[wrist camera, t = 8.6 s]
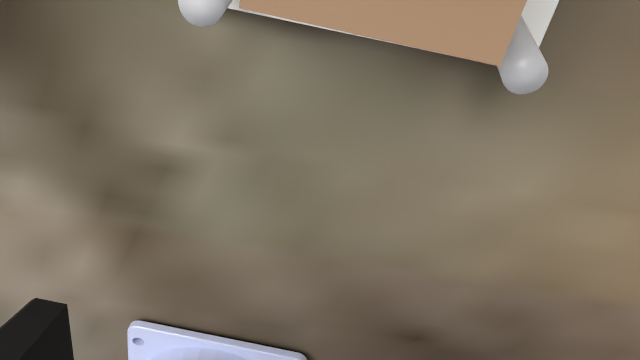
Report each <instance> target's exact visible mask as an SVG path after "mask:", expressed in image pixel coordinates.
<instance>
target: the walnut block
mask: <svg viewBox="0 0 640 360" xmlns="http://www.w3.org/2000/svg"><path fill="white" fill-rule="evenodd" d="M526 2H527V0H240V3H239V8H240V9H245V10H249V11H254V12H258V13H262V14H267V15H271V16H276V17H280V18H285V19H289V20H294V21H298V22H303V23H307V24H312V25H316V26H321V27H325V28H330V29H334V30H339V31H343V32H348V33H352V34H357V35H361V36H366V37H370V38H375V39H379V40H384V41H388V42H392V43H397V44H401V45H406V46H410V47H415V48H419V49H424V50H428V51H433V52H437V53H442V54H446V55H451V56H455V57H460V58H464V59H469V60H473V61H478V62H482V63H487V64H491V65H496V66H501V63H502V61H503V58H504V56H505V53H506V51H507V48H508V46H509V44H510V41H511V39H512V36H513V34H514V31H515V29H516V26H517V24H518V21H519V19H520V16H521V14H522V12H523V9H524V7H525V4H526Z"/></svg>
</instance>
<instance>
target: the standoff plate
mask: <svg viewBox="0 0 640 360" xmlns="http://www.w3.org/2000/svg"><path fill="white" fill-rule="evenodd" d="M558 2H559V0H527V2H526V4H525V7H524V9H523V12H522V14H521V16H520V19H519V21H518V24H517V26H516V29H515V31H514V34H513V36H512V39H511V41H510V44H509V46H508V48H507V51H506V53H505V56H504V58H503V61H502V63H501V66H497V67H498V70H499V73H500V76H501V79H502V82H503V84H504V86H505V87H506V88H507V89H508V90H509V91H510V92H512V93H515V94H529V93H532V92H534V91H536V90H537V89H539V88H540V87H541V86H542V85H543V84H544V83H545V81H546V79H547V77H548V65H547V63H546V61H545V59H544V57H543V55H542V53H541V51H540V49H539V46H540V44H541V42H542V39H543V37H544V35H545V32H546V30H547V28H548V25H549V23H550V21H551V18H552V16H553V14H554V11H555V9H556V7H557V4H558ZM239 3H240V0H178V4H179V8H180V11H181V13H182V15H183V16H184V17H185V19H186V20H187V21H189V22H190V23H192V24H193V25H196V26H199V27H209V26H212V25H214V24H215V23H217V22H218V20H219V19H220V18H221V16H222V15H223V13H224V12H225V11H226V9H227V8H229V9H234V10H239V11H244V12H248V13H253V14H258V15H262V16H267V17H272V18H276V19H281V20H286V21H290V22H295V23H300V24H305V25H309V26H314V27H319V28H323V29H328V30H333V31H337V32H342V33H347V34H351V35H356V36H361V35H357V34H352V33H348V32H343V31H339V30H334V29H330V28H325V27H321V26H316V25H312V24H307V23H303V22H298V21H294V20H289V19H285V18H280V17H276V16H271V15H267V14H262V13H258V12H254V11H249V10H245V9H240V8H239ZM361 37H366V36H361ZM366 38H370V37H366ZM370 39H375V38H370ZM375 40H379V39H375ZM380 41H384V40H380ZM384 42H388V41H384ZM389 43H392V42H389ZM394 44H397V43H394ZM398 45H401V44H398ZM403 46H406V45H403ZM408 47H410V46H408ZM413 48H415V47H413ZM417 49H419V48H417ZM422 50H424V49H422ZM427 51H428V50H427ZM431 52H433V51H431ZM436 53H437V52H436ZM441 54H442V53H441ZM445 55H446V54H445ZM450 56H451V55H450ZM459 58H460V57H459Z"/></svg>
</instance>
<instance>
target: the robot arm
mask: <svg viewBox="0 0 640 360" xmlns="http://www.w3.org/2000/svg"><path fill="white" fill-rule="evenodd" d="M127 334H128V360H307V358H306V357H305V356H304V355H303V354H301V353H298V352H293V351H288V350H283V349H278V348H273V347H269V346H264V345H259V344H254V343H249V342H244V341H239V340H234V339H229V338H224V337H219V336H214V335H209V334H204V333H199V332H195V331H190V330H185V329H180V328H175V327H170V326H165V325H160V324H155V323H150V322H145V321H138V320H137V321H133V322H132V323H131V324H130V326H129V328H128V331H127ZM0 360H74V357H73V349H72V341H71V333H70V324H69V316H68V308H67V304H63V303H58V302H53V301H48V300H43V299H38V298H35V299H33V300H31V301H30V302H29V303H28V304H27V305H25V306H24V307H23V308H22V309H21V310H20V311H19V312H18V313H16V314H15V315H14V316H13V317H12V318H11V319H10V320H8V321H7V322H6V323H5V324H4V325H3V326H2V327H0Z"/></svg>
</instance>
